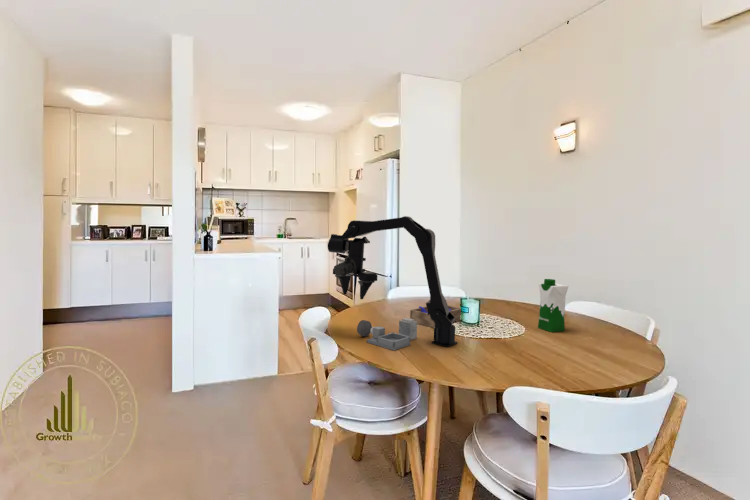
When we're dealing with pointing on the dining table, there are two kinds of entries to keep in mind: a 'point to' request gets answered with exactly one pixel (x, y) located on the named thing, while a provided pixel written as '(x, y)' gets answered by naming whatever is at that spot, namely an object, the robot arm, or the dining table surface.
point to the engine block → (408, 328)
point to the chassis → (388, 339)
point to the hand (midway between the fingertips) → (353, 296)
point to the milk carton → (552, 306)
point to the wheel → (364, 328)
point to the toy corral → (425, 318)
